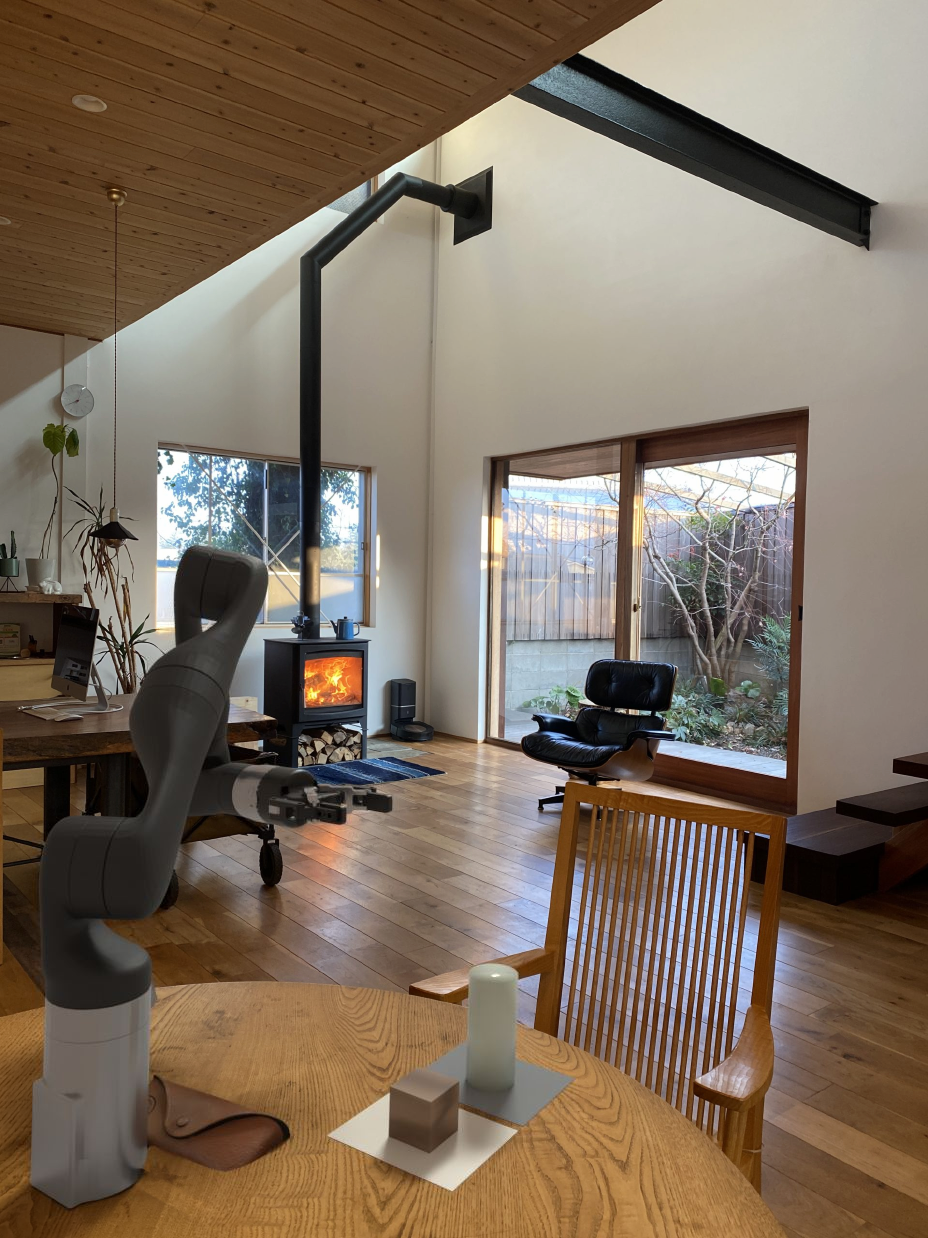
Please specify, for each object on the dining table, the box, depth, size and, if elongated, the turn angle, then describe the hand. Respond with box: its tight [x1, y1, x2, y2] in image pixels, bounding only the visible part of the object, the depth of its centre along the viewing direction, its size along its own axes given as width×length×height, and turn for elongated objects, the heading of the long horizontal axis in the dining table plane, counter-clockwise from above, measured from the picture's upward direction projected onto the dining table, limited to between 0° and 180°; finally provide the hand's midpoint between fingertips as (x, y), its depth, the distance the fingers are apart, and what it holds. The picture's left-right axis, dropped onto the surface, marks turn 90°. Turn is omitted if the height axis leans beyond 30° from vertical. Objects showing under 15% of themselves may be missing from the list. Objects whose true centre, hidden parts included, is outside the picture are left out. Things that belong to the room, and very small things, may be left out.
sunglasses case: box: [147, 1074, 292, 1173], centre depth 92 cm, size 18×7×7 cm
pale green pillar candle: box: [466, 963, 519, 1092], centre depth 104 cm, size 6×6×12 cm
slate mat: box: [424, 1041, 576, 1128], centre depth 104 cm, size 12×15×1 cm
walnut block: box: [388, 1065, 460, 1154], centre depth 93 cm, size 5×5×5 cm
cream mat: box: [326, 1092, 519, 1192], centre depth 93 cm, size 12×15×1 cm
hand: (368, 810), depth 113 cm, fingers open, 8 cm apart
